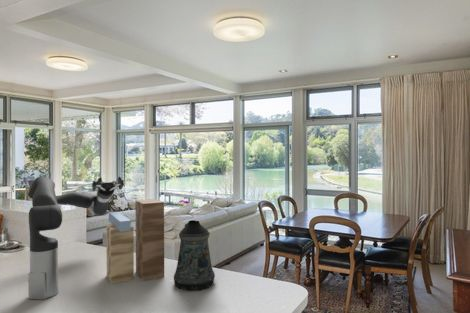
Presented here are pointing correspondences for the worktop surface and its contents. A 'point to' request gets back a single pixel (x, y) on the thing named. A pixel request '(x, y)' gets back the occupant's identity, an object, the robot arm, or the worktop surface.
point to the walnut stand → (149, 238)
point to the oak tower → (120, 254)
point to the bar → (119, 221)
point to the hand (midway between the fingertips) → (110, 178)
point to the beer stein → (194, 259)
